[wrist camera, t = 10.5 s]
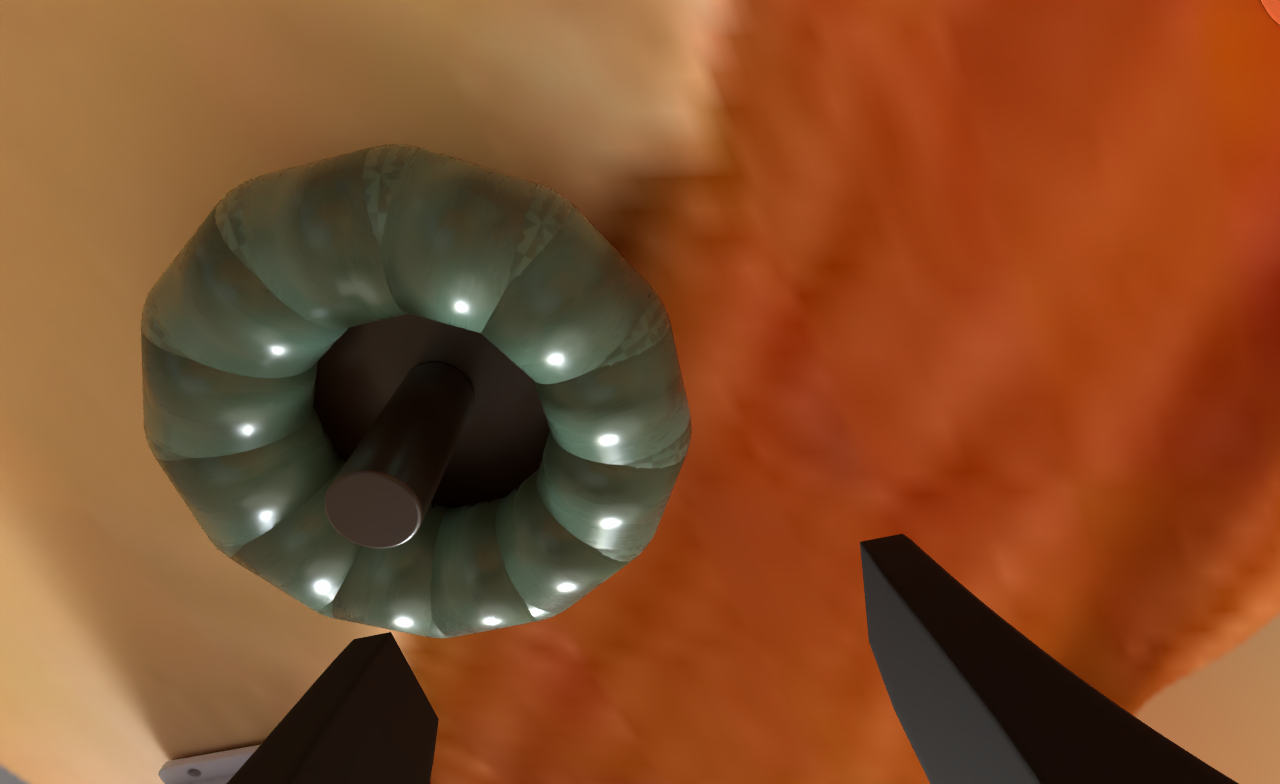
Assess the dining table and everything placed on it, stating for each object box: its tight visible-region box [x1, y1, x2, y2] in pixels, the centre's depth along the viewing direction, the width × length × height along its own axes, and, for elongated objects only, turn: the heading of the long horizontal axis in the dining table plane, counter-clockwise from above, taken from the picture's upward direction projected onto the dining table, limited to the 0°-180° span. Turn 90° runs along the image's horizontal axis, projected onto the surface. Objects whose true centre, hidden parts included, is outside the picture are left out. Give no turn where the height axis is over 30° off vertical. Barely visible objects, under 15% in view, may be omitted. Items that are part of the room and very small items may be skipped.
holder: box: [313, 314, 550, 549], centre depth 16 cm, size 9×9×6 cm
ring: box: [141, 145, 691, 638], centre depth 17 cm, size 13×13×4 cm
